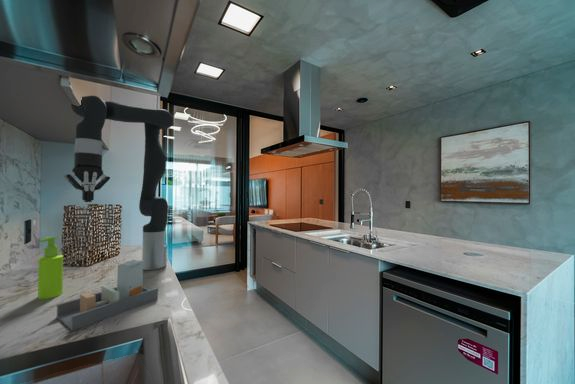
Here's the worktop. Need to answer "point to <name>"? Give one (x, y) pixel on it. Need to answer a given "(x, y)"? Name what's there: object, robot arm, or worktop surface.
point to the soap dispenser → (50, 271)
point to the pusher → (90, 299)
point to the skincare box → (130, 278)
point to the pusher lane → (101, 308)
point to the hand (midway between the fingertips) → (87, 201)
